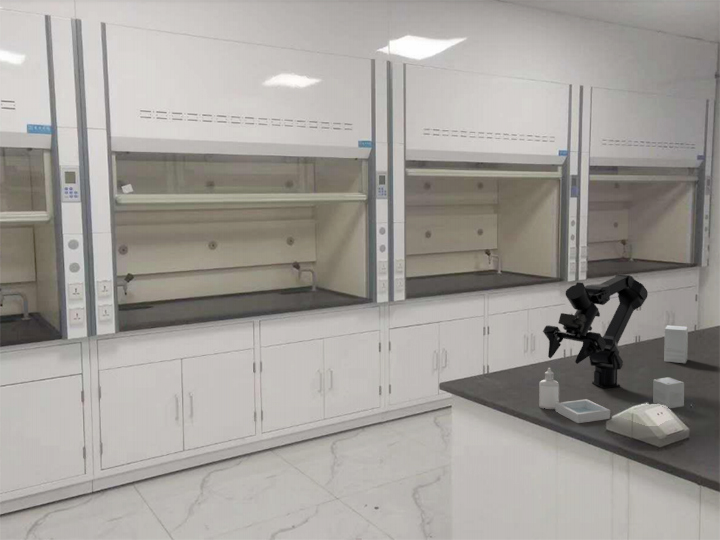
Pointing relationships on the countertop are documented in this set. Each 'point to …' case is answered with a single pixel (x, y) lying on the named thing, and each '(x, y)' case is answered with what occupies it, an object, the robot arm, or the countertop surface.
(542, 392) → the eye dropper bottle
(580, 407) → the square tray
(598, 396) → the countertop surface
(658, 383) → the skincare box
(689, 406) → the countertop surface
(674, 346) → the supplement box
